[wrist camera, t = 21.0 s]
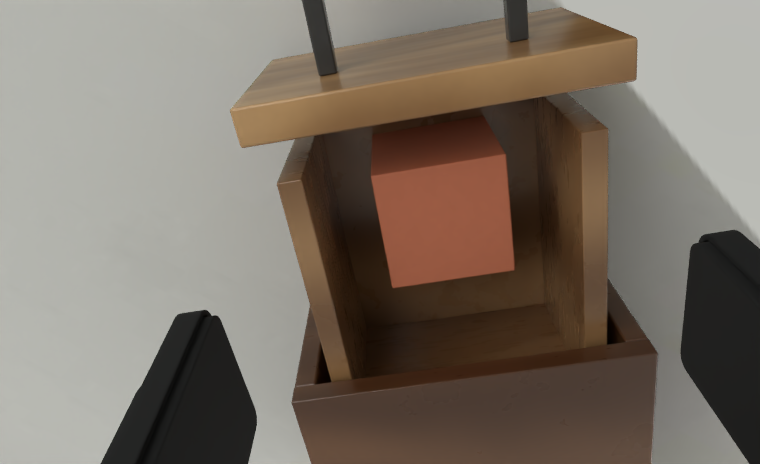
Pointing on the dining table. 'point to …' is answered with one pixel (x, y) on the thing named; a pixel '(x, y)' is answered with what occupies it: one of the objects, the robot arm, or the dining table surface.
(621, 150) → the dining table surface
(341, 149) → the drawer
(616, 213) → the dining table surface
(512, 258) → the block
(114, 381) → the dining table surface
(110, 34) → the dining table surface
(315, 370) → the cabinet
